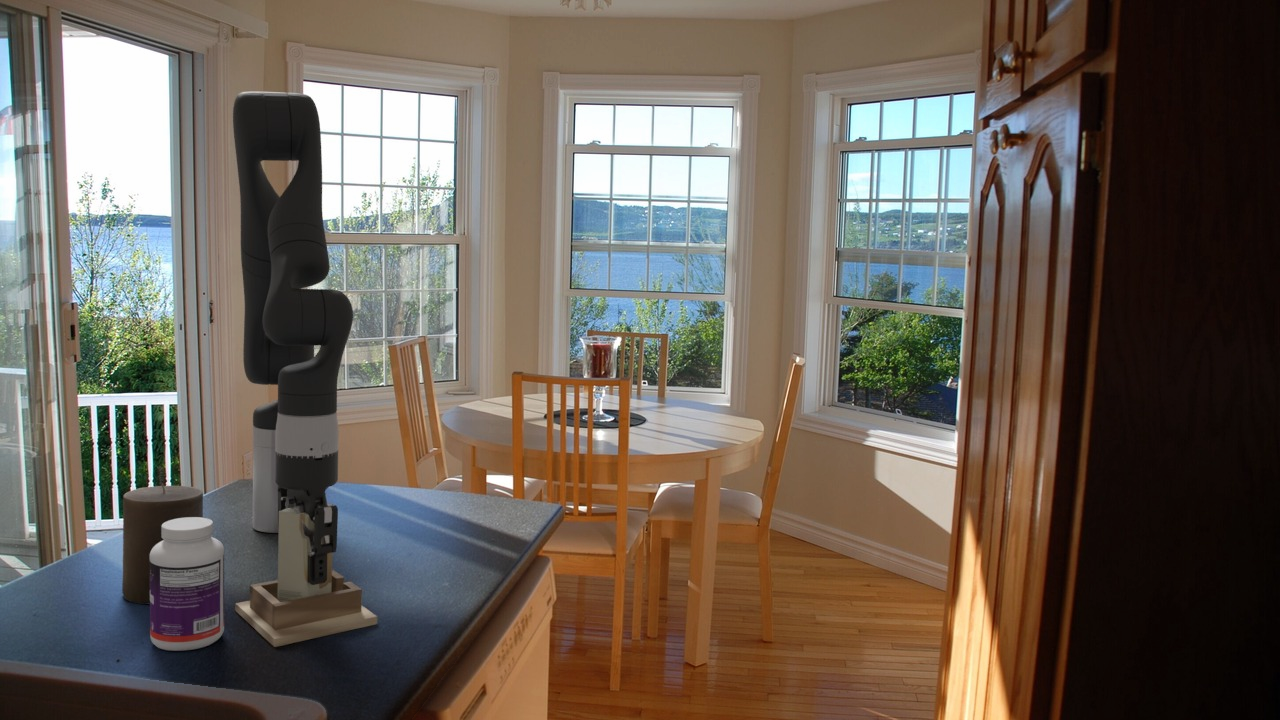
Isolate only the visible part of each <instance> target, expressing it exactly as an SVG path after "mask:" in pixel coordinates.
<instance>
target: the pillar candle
mask: <svg viewBox="0 0 1280 720" xmlns="http://www.w3.org/2000/svg"><path fill="white" fill-rule="evenodd" d="M122 504H123V509H122V510H123V511H122V512H123V514H122V515H123V517H122V520H123V521H122V523H123V525H122V527H123V528H122V541H123V542H122V590H121V592H122V595H123V598H124V599H125V600H126V601H127V602H128V601H129V602H131V603H135V604H142V605H143V604H144V605H150V552H151V550H152V548H153V547H154V546H155V545H156V544H158V543H159V542H161V541H163V540H164V539H163V538H162V535H161V527H162V524H163V523H164V522H167V521H169V520H173V519H177V518H186V517H201V518H204V517H203V515H204V493H203V490H202V489H200V488H199V487H195V486H184V485H164V483H161V485H156V486H147V487H139V488H136V489H133V490H129V491H127V492H126V493H124V494H123V503H122Z"/></svg>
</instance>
